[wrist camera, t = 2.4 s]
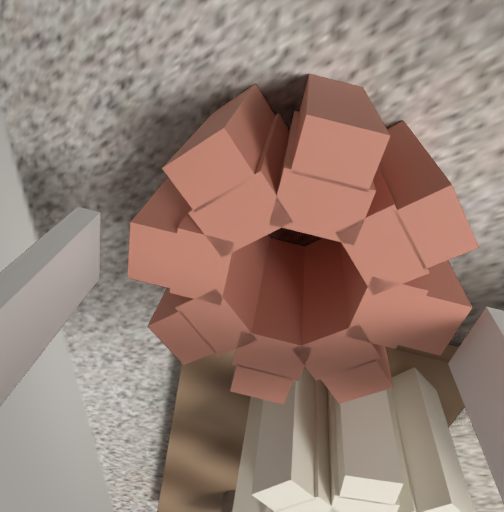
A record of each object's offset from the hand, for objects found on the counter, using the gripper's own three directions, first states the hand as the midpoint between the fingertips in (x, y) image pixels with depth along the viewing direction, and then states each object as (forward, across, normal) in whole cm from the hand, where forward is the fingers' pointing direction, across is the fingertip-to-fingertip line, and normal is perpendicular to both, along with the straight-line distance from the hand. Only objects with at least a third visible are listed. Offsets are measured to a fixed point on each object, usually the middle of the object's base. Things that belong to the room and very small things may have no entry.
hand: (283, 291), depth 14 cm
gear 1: (+7, 0, 0) cm, 7 cm away
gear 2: (+5, +6, -12) cm, 14 cm away
